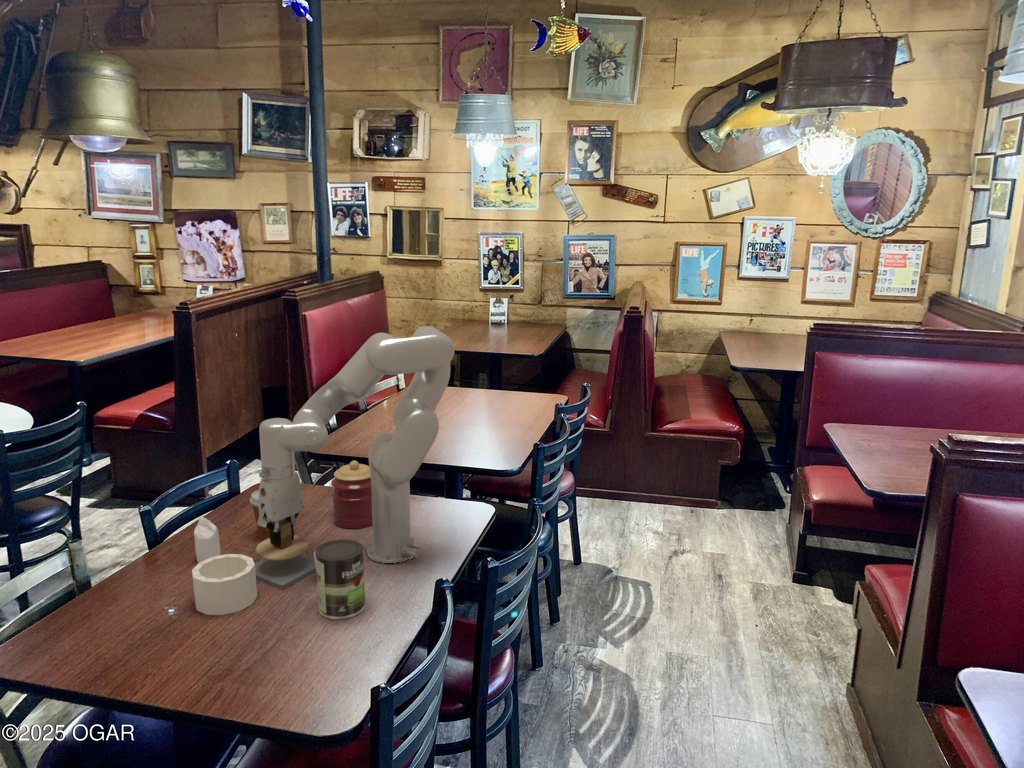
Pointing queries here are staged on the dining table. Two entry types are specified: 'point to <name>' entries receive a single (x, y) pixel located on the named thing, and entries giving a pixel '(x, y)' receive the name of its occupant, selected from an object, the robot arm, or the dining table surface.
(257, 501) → the disposable coffee cup
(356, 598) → the coffee can
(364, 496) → the canister
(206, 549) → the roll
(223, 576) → the bowl
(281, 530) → the lid
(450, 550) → the dining table surface
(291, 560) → the mat
